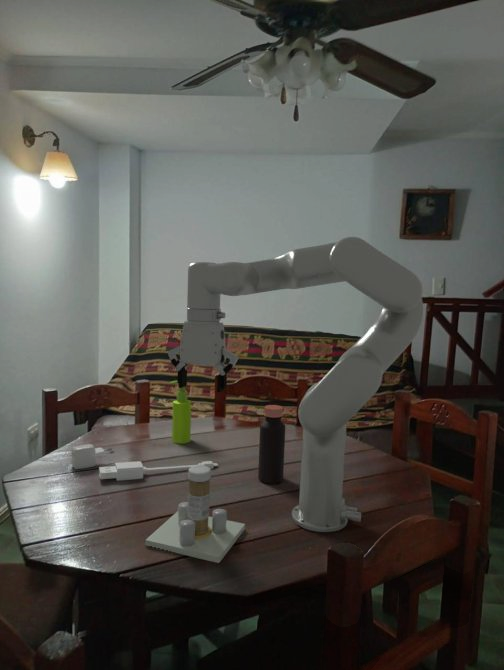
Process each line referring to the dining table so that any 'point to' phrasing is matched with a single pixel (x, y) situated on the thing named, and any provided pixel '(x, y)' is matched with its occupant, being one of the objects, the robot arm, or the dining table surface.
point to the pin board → (183, 540)
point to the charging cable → (137, 470)
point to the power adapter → (87, 455)
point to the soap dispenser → (181, 417)
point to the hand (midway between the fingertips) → (201, 389)
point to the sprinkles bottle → (199, 497)
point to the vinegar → (271, 446)
